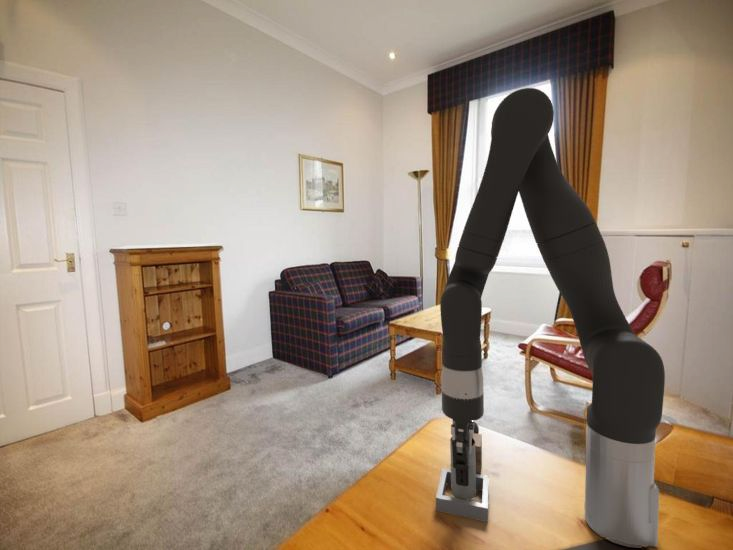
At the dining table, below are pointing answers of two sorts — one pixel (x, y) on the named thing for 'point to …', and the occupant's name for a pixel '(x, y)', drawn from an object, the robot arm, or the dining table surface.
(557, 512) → the dining table surface
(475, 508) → the grey open frame
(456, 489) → the grey cylinder
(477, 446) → the guide block
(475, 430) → the shaft
